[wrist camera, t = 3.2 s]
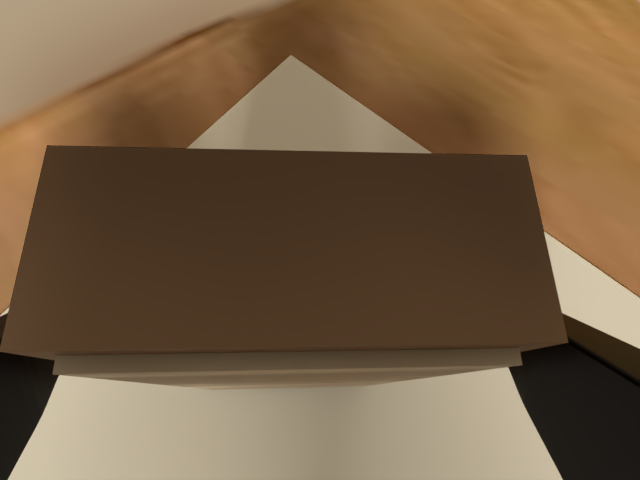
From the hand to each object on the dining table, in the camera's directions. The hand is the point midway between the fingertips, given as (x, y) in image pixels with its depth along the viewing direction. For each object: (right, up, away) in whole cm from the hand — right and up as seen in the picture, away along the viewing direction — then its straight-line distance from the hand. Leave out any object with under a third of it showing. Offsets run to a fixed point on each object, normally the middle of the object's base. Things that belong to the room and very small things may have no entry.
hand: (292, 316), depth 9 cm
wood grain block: (-1, -3, +7) cm, 8 cm away
